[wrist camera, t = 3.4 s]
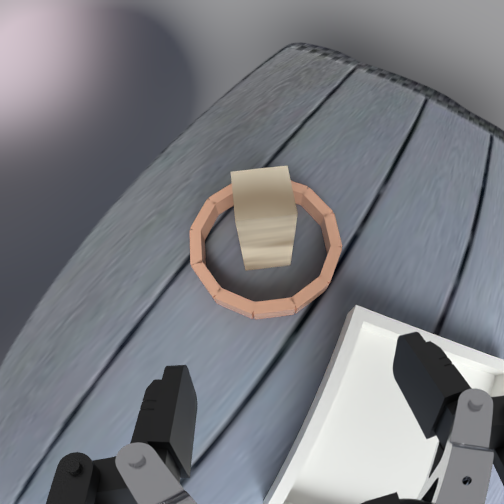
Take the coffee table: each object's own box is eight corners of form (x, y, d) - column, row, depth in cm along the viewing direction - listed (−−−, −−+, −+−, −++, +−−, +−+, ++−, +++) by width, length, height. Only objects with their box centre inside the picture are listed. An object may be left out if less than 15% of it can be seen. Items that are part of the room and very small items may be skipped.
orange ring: (231, 173, 33) (229, 161, 31) (351, 214, 30) (356, 203, 28) (170, 282, 28) (164, 275, 27) (306, 340, 26) (309, 337, 24)
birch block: (241, 230, 30) (230, 171, 22) (283, 225, 30) (287, 165, 22) (245, 270, 29) (235, 221, 20) (290, 265, 29) (297, 214, 20)
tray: (347, 313, 26) (356, 304, 24) (499, 368, 23) (517, 365, 20) (263, 501, 20) (262, 514, 17) (434, 534, 16) (448, 544, 14)
